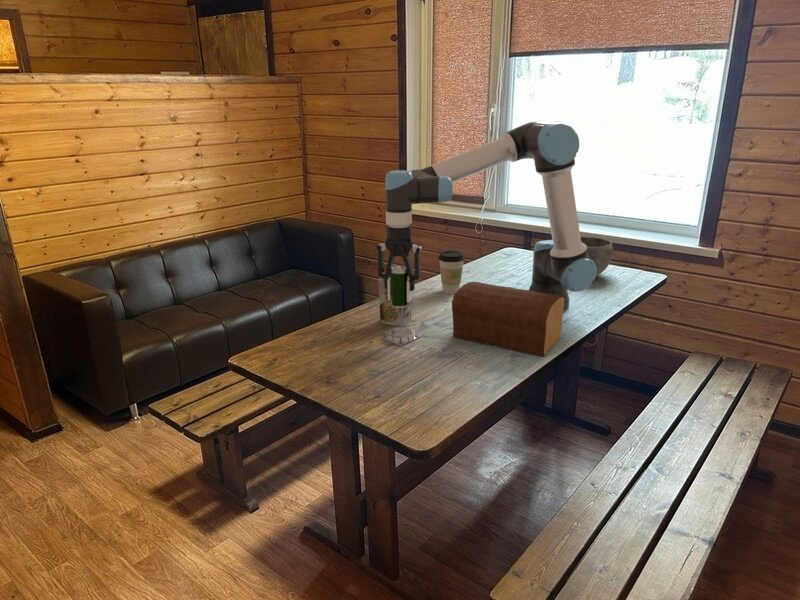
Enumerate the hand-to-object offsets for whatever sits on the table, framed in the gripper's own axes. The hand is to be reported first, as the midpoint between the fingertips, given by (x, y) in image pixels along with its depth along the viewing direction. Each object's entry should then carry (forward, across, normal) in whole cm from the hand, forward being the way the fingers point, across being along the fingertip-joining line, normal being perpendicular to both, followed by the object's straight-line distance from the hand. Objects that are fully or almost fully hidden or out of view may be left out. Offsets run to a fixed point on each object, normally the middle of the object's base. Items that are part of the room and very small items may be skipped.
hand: (399, 299), depth 177 cm
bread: (+13, -32, -8) cm, 35 cm away
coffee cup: (+13, -8, -47) cm, 49 cm away
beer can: (+2, 0, 0) cm, 2 cm away
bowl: (+12, -56, -77) cm, 97 cm away
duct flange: (+13, 0, 0) cm, 13 cm away
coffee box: (+13, +5, -12) cm, 18 cm away
